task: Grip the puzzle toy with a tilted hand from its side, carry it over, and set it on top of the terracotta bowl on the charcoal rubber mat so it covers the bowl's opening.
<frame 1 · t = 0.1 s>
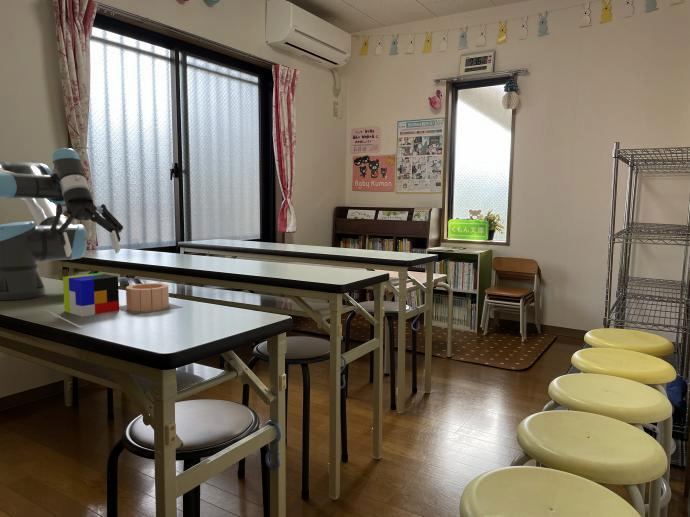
hand: (94, 252, 148), 15 cm above the table, tool tilted 35°, fingers open, 13 cm apart
rubber mat: (148, 308, 143), on the table
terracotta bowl: (148, 307, 143), resting on rubber mat
puzzle toy: (92, 313, 138), on the table
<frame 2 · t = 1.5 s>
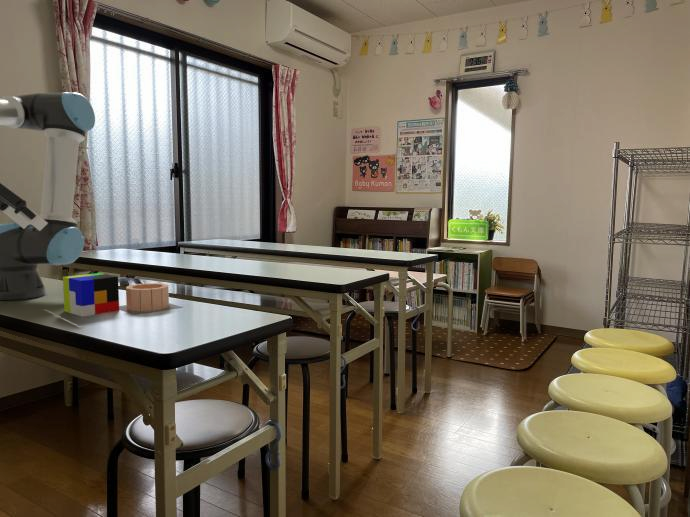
hand: (35, 226, 133), 24 cm above the table, tool tilted 45°, fingers open, 13 cm apart
nothing on the table moved.
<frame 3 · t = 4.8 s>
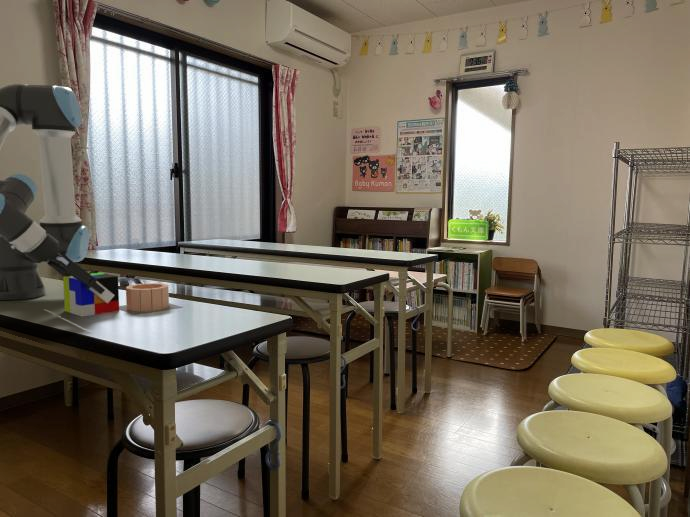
hand: (102, 296, 140), 4 cm above the table, tool tilted 45°, fingers closed on puzzle toy, 10 cm apart
puzzle toy: (92, 313, 138), on the table, touching gripper
when the fingers open (12 cm above the table, at t = 9.7 s): puzzle toy drops 1 cm, resting on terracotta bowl.
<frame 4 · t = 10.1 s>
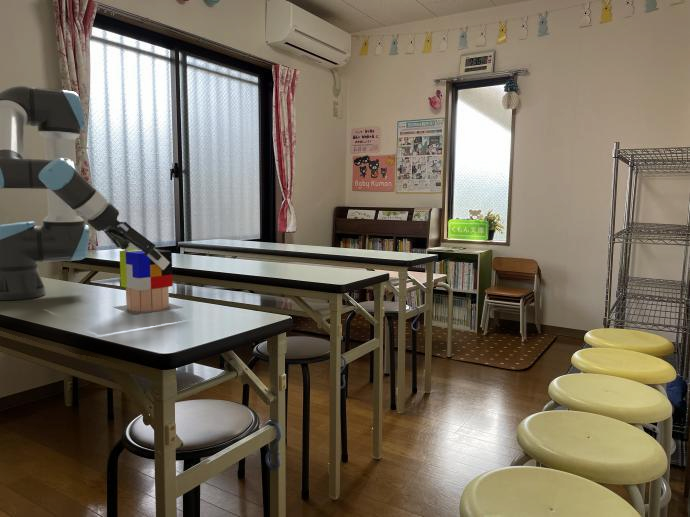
hand: (154, 264, 144), 13 cm above the table, tool tilted 45°, fingers open, 13 cm apart
puzzle toy: (146, 287, 143), point 6 cm above the table, touching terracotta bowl
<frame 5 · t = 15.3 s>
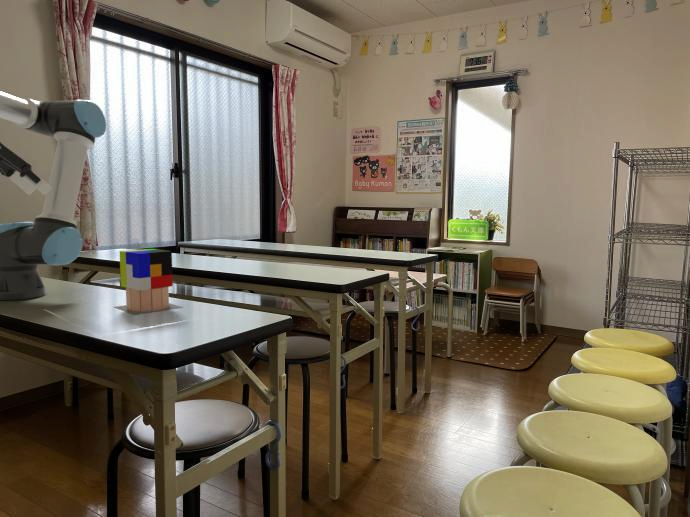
hand: (40, 191, 137), 33 cm above the table, tool tilted 45°, fingers open, 13 cm apart
nothing on the table moved.
at the end: puzzle toy 0.2 cm off-centre on the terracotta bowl, point 5.8 cm above the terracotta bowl's base; puzzle toy tilted 0°; the gripper is holding nothing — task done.
